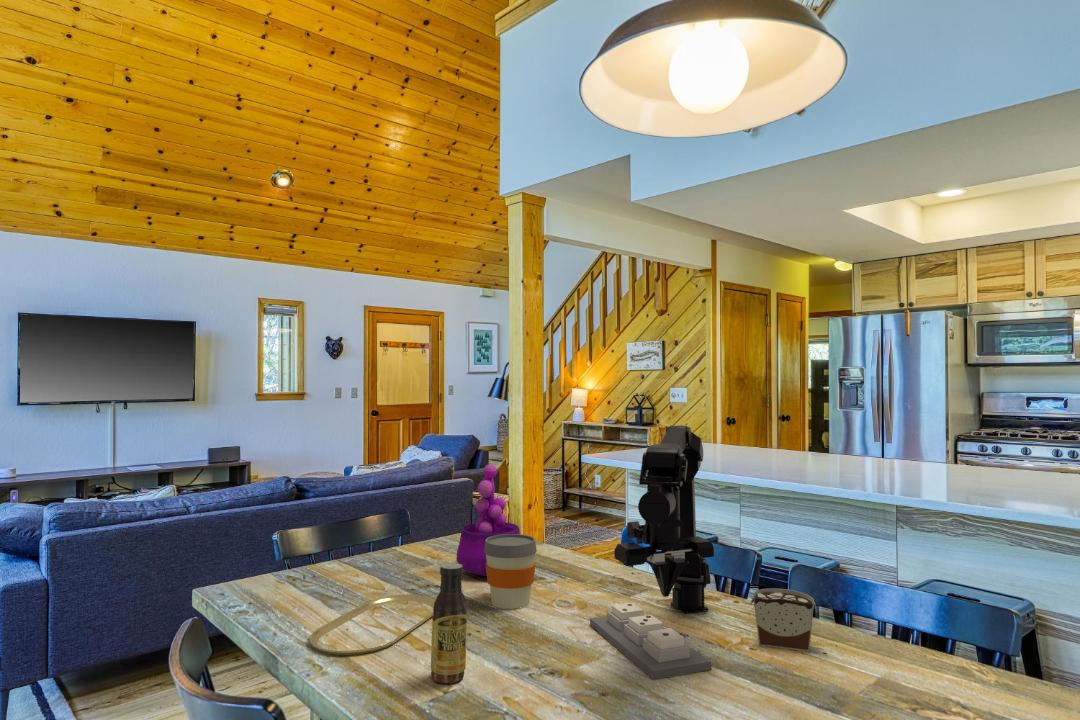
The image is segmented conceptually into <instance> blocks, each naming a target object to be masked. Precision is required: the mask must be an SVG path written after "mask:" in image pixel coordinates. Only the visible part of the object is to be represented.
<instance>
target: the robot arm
mask: <svg viewBox="0 0 1080 720" xmlns="http://www.w3.org/2000/svg"><path fill="white" fill-rule="evenodd" d="M703 461H704V446H703V442H702V439H701V437H699V436H698V435H697V434H695V433H694V432H692V429H691V427H690V426H687V425H669V426H666V428H665V434H664V436H663V437H662V438H661V441H660V443H656V444H651V445H649V446H648V447H647V448H646V451H644V452H643V455H642V461H641V466H640V473H639V474H640V475H639V481H638V482H639V486H640V485H641V486H647V489H646V490H647V491H646V492H645V493H644V494H643V495H642V496H641V497H640V499H639V501H638V504H637V509H638V513H639V516H640V517H641V518H642V519H643V520H644V521H645V523H644V524H640V522H639V521H638V520H637V521H629V522H627V523H626V524H627V525H626V534H627V539H629V540H635V542H624V543H623V542H622V543H617V545H616V546H615V548H614V555H613V557H614V560H616V561H618V562H620V563H622V564H624V565H625V566H630V567H632V566H639V565H640V566H641V565H645V563H646V564H648V565H649V566H650V568H651V570H652V572H653V574H654V576H655V579H656V582H657V584H658V588H659V590H660V594H661V596H662V597H663V598H666V597H669V596H670V594H671V592H672V596H671V597H672V602H670V606H671V607H673V608H674V609H676V610H677V611H679V612H681V613H682V614H691V613H692V614H694V613H699V612H707V611H709V607H707V606H705V587H706V586H707V585H711V570H710V569H711V568H710V565H709V564H708V562H707V558H714V557H715V555H716V554H715V545H714V543H713V542H712V541H711V540H709V539H706V538H704V537H701V536H697V526H696V520H697V519H696V493H695V489H696V488H695V477H696V475H697V474H698V471H699V470H700V468H701V465H702V462H703ZM641 544H644V545H648V546H641Z"/></svg>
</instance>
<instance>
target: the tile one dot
mask: <svg viewBox="0 0 1080 720" xmlns="http://www.w3.org/2000/svg"><path fill="white" fill-rule="evenodd" d="M648 641H649V642H650V643H651V644H652V645H654V646H655V647H656V648H658V649H659V650H665V649H671V648H678V647H684V643H685V637H684V636H683V635H681V633H680V634H679V633H678V632H677V631H675V630H674V629H673V628H671V627H670V628H664V629H662V630H655V631H648Z"/></svg>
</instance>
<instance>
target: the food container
mask: <svg viewBox="0 0 1080 720" xmlns="http://www.w3.org/2000/svg"><path fill="white" fill-rule="evenodd" d="M752 604H753V606H754V612H755V613H754V614H755V622H756V630H757V639H758V640H757V641H758V646H762V647H763V646H764V647H770V648H777V647H780V649H786V648H788V649H787V650H794V649H795V651H796V650H797V651H802V650H803V651H804V652H810V649H811V637H812V629H813V628H812V627H813V618H814V617H813V615H814V610H815V611H816V612H817V611H818V609H817V606H816V602H815V599H814V598H813V597H812V596H810V595H809V594H806V593H804V592H801V591H798V590H792V589H786V588H773V587H772V588H762V589H758V590H756V591H755V592H754V593H753V595H752V596H751V601H750V605H752ZM781 647H782V648H781Z"/></svg>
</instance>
